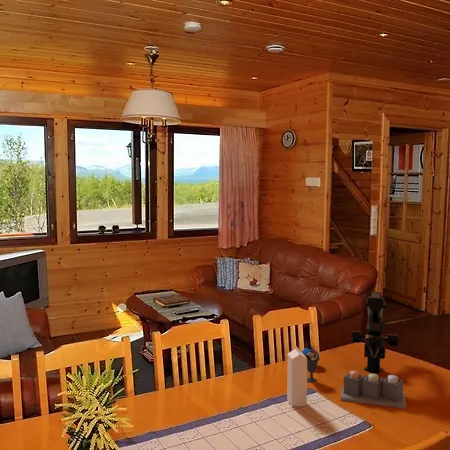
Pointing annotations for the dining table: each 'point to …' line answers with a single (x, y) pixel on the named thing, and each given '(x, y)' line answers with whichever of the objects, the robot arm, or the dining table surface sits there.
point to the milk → (297, 378)
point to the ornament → (308, 350)
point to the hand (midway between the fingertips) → (373, 357)
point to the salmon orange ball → (354, 374)
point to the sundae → (312, 364)
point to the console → (373, 391)
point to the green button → (373, 377)
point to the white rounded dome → (393, 379)
